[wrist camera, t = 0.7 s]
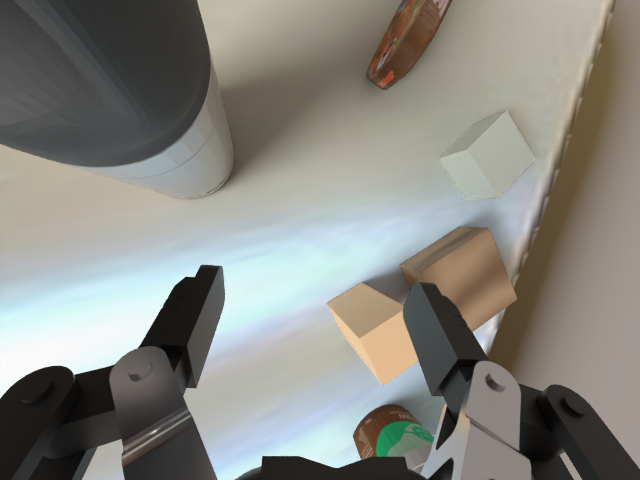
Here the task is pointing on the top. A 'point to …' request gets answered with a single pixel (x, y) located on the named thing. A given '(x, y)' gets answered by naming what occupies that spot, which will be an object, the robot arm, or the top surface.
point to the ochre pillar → (375, 330)
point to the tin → (406, 40)
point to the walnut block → (465, 273)
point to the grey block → (487, 158)
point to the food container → (393, 436)
